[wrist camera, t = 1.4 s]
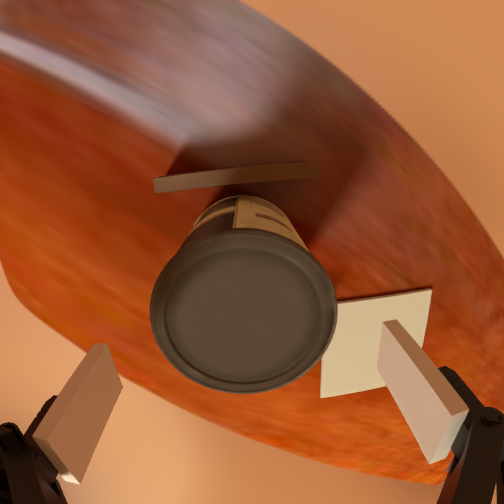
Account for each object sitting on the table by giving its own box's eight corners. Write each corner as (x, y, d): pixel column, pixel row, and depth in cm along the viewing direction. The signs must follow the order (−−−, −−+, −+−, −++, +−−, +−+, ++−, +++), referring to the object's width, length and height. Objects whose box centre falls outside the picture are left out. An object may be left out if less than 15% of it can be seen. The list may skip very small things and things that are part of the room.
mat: (322, 303, 32) (323, 305, 32) (429, 288, 32) (431, 289, 32) (320, 395, 36) (320, 398, 35) (413, 376, 36) (414, 378, 35)
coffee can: (194, 300, 32) (165, 394, 18) (185, 197, 29) (135, 234, 15) (297, 296, 32) (329, 389, 18) (298, 193, 29) (344, 227, 15)
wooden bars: (165, 175, 28) (153, 178, 24) (307, 161, 28) (317, 162, 24) (188, 325, 32) (182, 346, 29) (313, 314, 32) (321, 334, 29)
